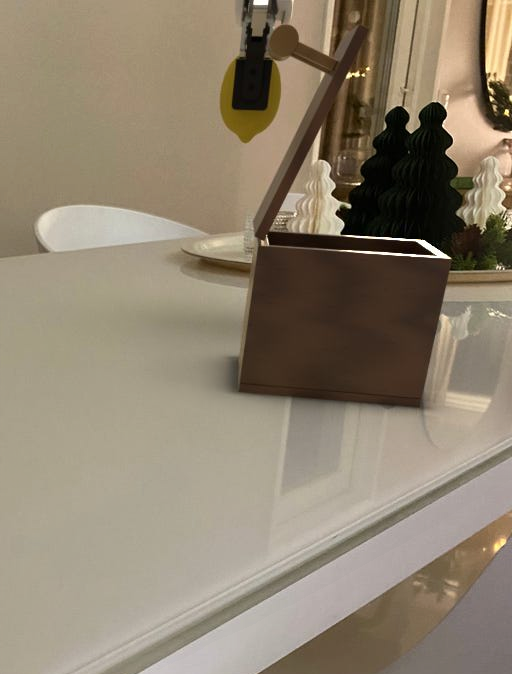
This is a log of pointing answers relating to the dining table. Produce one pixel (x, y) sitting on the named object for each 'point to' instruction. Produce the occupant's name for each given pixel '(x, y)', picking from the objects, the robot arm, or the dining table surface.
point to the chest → (341, 317)
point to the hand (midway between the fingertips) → (249, 108)
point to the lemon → (249, 120)
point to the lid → (335, 70)
